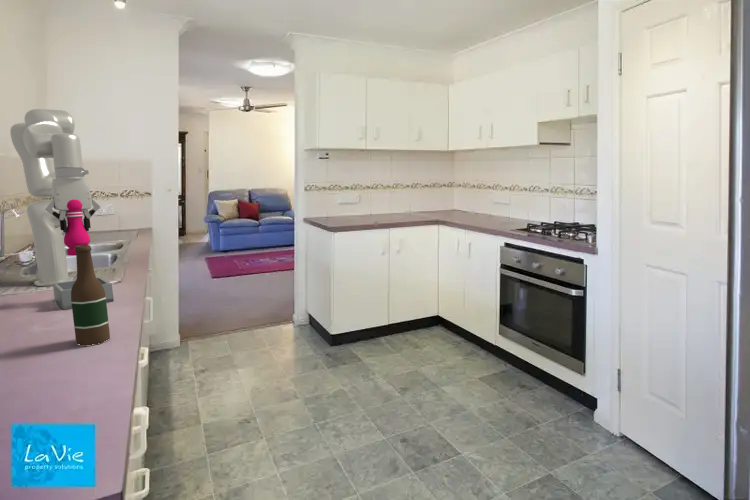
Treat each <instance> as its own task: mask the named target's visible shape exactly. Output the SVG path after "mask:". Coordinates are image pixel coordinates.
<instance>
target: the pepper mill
mask: <svg viewBox="0 0 750 500" xmlns="http://www.w3.org/2000/svg"><path fill="white" fill-rule="evenodd" d="M67 208H68V209H69V210H68V211H66V213H65V217H67V233H64V235H63V237H64V244H65V247H67V248H68V249H66V256H76V252H75V251H74V250H75V247H76V246H79V245H89V244H90V243H91V236H90V234H89V233H88V232H89V231H86V229H85V227H84V222H83V218H82V216H83V217H84V214H83V212H82V210H81V208H82V203H81V202H80V201H79V200H76V199H73V200H70V201H69V202H68V203H67Z"/></svg>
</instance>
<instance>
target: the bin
mask: <svg viewBox="0 0 750 500" xmlns="http://www.w3.org/2000/svg"><path fill="white" fill-rule="evenodd" d="M96 278H97V279H98V280H99V281H100V282H101V284H102V286H103V288H104V290H105V296H106V303H111V302H114V293H113V291H114V290H113V284H112V282H111V281H108V280H107V279H105V278H103V277H102V276H96ZM75 281H76V279H75V280H73V281H68V282H61V283H54V284H53V286H52V288H53V297H54V302H55V303H56V304H57V306H59V307H60V308H61V310H63V311H66V310H72V303H71V290H72V286H73V284H74V282H75Z"/></svg>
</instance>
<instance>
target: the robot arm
mask: <svg viewBox="0 0 750 500" xmlns="http://www.w3.org/2000/svg"><path fill="white" fill-rule="evenodd" d="M9 131H10V132H9V134H10V139H11V142H12V145H13V147H14V149H15V151H16V153H17V154H18V156H19V158H20V160H21V162H22V166H23V172H24V177H25V183H26V187H27V190H28V191H27V192H28V193H29V195H30V196H31V197H34V198H52V199H46V200H45V199H44V200H37V201H36V200H35V201H33V202H30V203H29V204H28V205H27V207H26V213H27V218H28V221H29V225H30V228H31V232H32V236H33V237H32V238H33V239H32V240H33V244H34V251H35V259H36V260H35V261H36V266H37V275H38V279H37V280H35V281H33V284H34V285H35V286H37V287H51V286H52V287H53V284H54V283H61V282H68V281H75V280H74V276H69V271H68V270H69V268H68V259H67V251H66V245H65V244H64V235H63V234H62V233H64V234H65V233H67V225H68V224H67V217H65V213H66V211H68V210H69V209H68V208H67V203H68V202H69V201H70V200H73V199H76V200H79V201H80V202H81V203H82V208H81V210H82V212H83V215H84V216H82V221H83V225H84V227H85V229H86V231H87V232H89V231H90V229H91V220H90V218H92V217H93V215H94V214H95V213H96V212H98V211H99V209H101V206H100V204H98V202H96V201H95V200H94V199H93V198H92V196H91V195H92V194H91V190H90V187H89V183H88V180H87V178H85V176H87V175H89V174H90V173H89V170H88V169H84V167H83V159H82V150H81V149H82V148H81V139H80V137H79V136H78V135H77V134H75V121H74V118H73V116H72V115H71V113H69V112H68V111H66V110H61V109H60V110H58V109H45V108H34V109H30V110H27V112H26V113H25V115H24V122H19V123H15V124H13V125H12V126H10V130H9ZM50 159H53V168H54V171H53V170H52V167H51V161H50ZM55 226H59V228H60V230H58V229H57V228H56V227H55ZM61 231H62V232H61Z"/></svg>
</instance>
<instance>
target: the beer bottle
mask: <svg viewBox="0 0 750 500" xmlns="http://www.w3.org/2000/svg"><path fill="white" fill-rule="evenodd" d="M92 250H93V249H92V246H91V245H89V244H88V245H79V246H76V247H75V250H74V251H75V252H76V255H75V256H76V259H75V260H76V278H75V280H76V281H75V280H74V281H75V282H74V284H73V286H72V290H71V303H72V309H71V311H72V318H73V326H74V334H75V336H74V337H75V343H76V345H77V344H80V345H92V344H97V345H99V344H98V343H102V342H104V341H106V340H108V339H109V340H111V337H110V335H111V333H110V326H109V325H110V323H109V315H108V314H109V313H108V305H107V303H108V302H107V303H106V296H105V290H104V288H103V286H102V284H101V282H100V281H99V280H98V279H97V276H96V272H95V269H94V268H95V267H94V264H93V258H92V252H91V251H92ZM109 340H108V341H109ZM106 342H107V341H106ZM104 343H105V342H104ZM102 344H103V343H102ZM92 346H93V345H92Z"/></svg>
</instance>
